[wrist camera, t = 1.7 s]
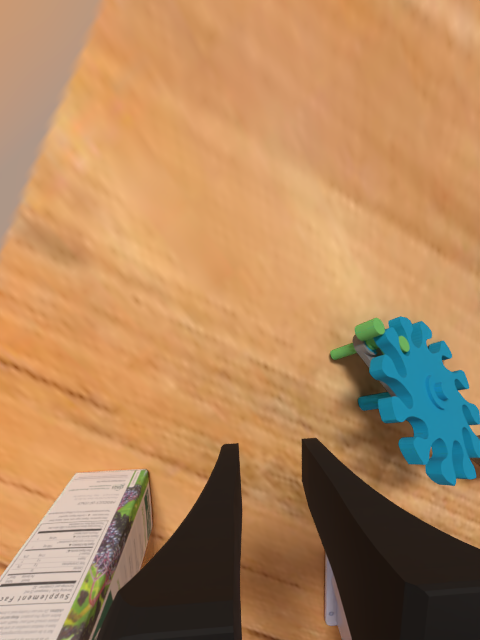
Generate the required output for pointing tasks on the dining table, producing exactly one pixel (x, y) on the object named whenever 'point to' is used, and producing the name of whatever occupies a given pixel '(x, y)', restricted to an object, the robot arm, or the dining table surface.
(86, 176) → the dining table surface
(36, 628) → the syrup box
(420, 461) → the gear
